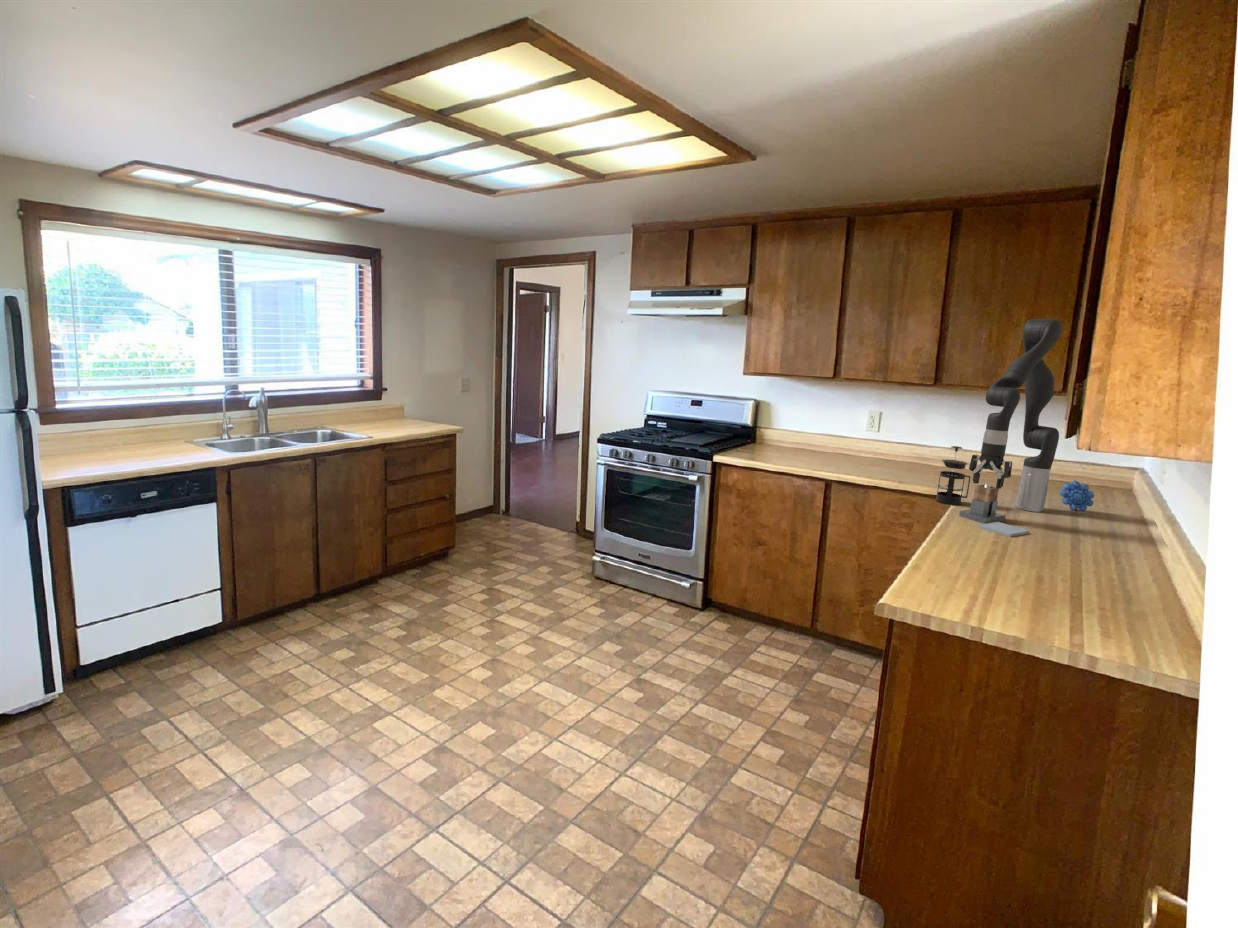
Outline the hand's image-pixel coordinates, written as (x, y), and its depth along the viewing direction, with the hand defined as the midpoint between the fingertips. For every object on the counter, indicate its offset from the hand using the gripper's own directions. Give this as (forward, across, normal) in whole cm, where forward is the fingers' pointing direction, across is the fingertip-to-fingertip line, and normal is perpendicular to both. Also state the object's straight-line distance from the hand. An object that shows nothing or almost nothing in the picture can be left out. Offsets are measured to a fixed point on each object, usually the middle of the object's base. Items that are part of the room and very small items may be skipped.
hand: (986, 485), depth 234 cm
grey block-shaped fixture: (+12, 0, 0) cm, 12 cm away
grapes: (+12, -6, -51) cm, 53 cm away
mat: (+12, -13, +8) cm, 20 cm away
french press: (+12, +20, -10) cm, 26 cm away
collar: (+5, 0, 0) cm, 5 cm away
